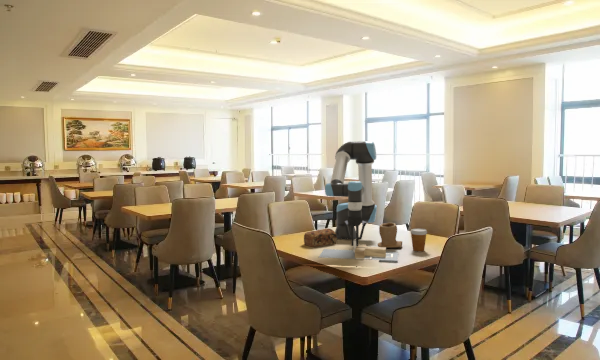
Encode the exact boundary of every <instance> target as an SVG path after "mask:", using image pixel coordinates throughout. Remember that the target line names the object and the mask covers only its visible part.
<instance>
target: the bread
mask: <svg viewBox="0 0 600 360" xmlns="http://www.w3.org/2000/svg"><path fill="white" fill-rule="evenodd" d="M336 235H337V234H336V233H335V230H333V229H331V228H328V227H326V228H321V229H316V230H311V231H307V232H305V233H304V234H303V243H304V245H305V246H308V247H310V248H318V247H323V246H329V245H337V243H338V241H337V240H338V239H337V236H336Z"/></svg>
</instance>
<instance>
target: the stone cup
mask: <svg viewBox="0 0 600 360" xmlns="http://www.w3.org/2000/svg"><path fill="white" fill-rule="evenodd" d="M378 230H379V231H378V233H379V236H380V239H381V242H378V243H377V247H386V249H387V248H388V249H393V248H394V249H396V248H400V249H401V248H402V246H403V241H402V240H397V233H398V226H397V224H396V223H395V222H385V223H383V222H382V223H381V224H380V225H379V227H378Z"/></svg>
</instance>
